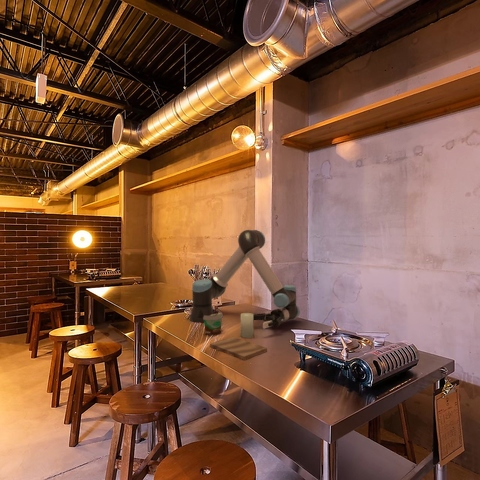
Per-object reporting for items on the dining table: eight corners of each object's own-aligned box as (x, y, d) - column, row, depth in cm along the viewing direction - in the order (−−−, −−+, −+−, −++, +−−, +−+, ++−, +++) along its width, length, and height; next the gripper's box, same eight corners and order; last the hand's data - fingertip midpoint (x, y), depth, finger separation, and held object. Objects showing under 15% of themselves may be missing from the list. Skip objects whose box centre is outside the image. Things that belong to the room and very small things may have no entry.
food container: (212, 337, 158) (212, 317, 157) (203, 335, 161) (203, 315, 161) (227, 331, 167) (227, 312, 167) (219, 329, 171) (218, 310, 171)
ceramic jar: (238, 336, 159) (238, 314, 159) (247, 333, 164) (246, 312, 163) (247, 339, 155) (247, 316, 154) (256, 336, 159) (256, 314, 159)
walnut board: (210, 346, 144) (210, 343, 144) (232, 339, 154) (232, 336, 154) (244, 360, 128) (244, 356, 128) (267, 351, 138) (266, 347, 138)
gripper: (297, 326, 167) (272, 335, 152) (262, 318, 185) (236, 325, 170) (297, 312, 167) (272, 320, 152) (262, 305, 185) (236, 311, 170)
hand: (253, 323), depth 161 cm, fingers open, 13 cm apart
